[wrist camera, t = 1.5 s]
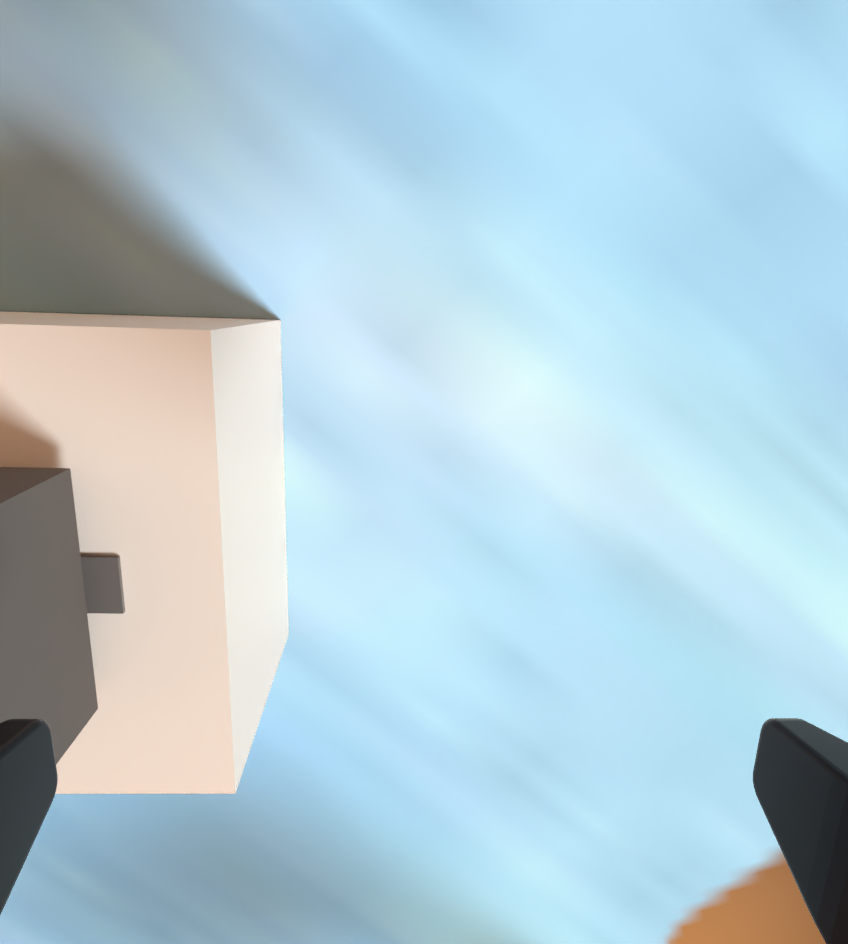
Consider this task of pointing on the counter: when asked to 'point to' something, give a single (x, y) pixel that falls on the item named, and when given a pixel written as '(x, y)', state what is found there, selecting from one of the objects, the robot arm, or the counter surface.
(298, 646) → the counter surface
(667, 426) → the counter surface
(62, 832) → the counter surface
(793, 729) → the robot arm
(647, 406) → the counter surface
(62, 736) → the fader tab
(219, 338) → the board
